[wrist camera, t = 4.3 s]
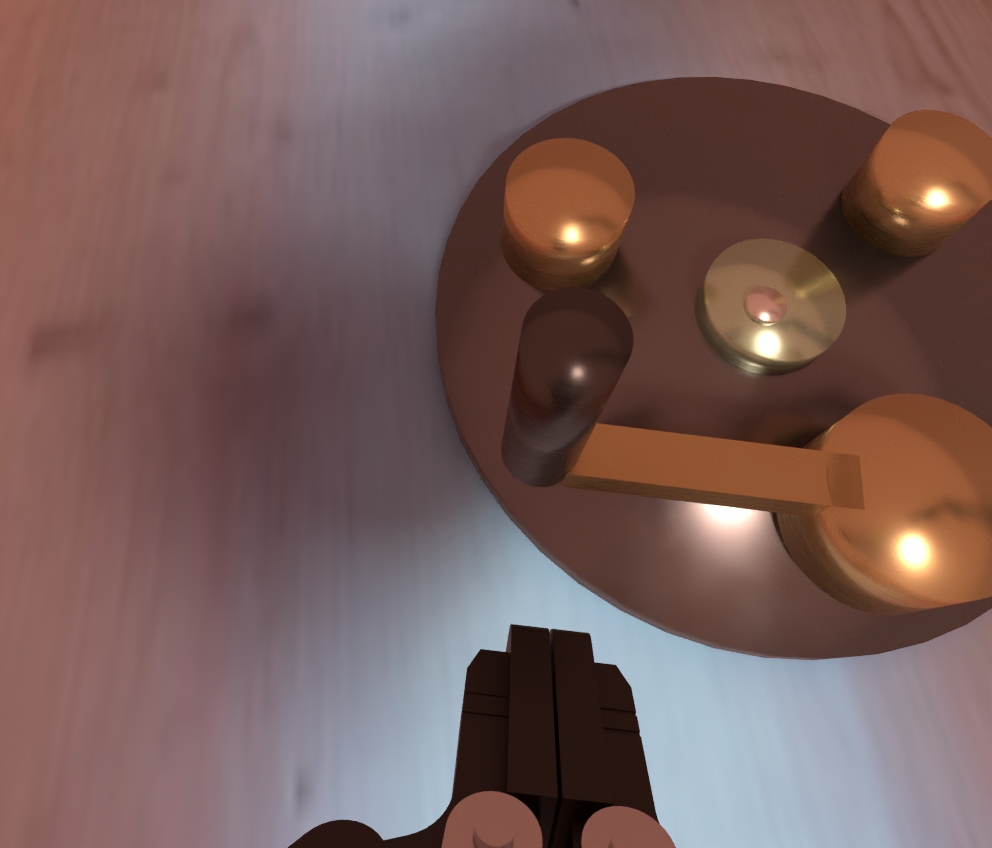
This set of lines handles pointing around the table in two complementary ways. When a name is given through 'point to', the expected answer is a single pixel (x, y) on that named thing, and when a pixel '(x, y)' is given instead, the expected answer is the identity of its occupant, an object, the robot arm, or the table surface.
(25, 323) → the table surface
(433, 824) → the robot arm
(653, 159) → the plate
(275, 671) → the table surface
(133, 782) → the table surface
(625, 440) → the lever knob
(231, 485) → the table surface
